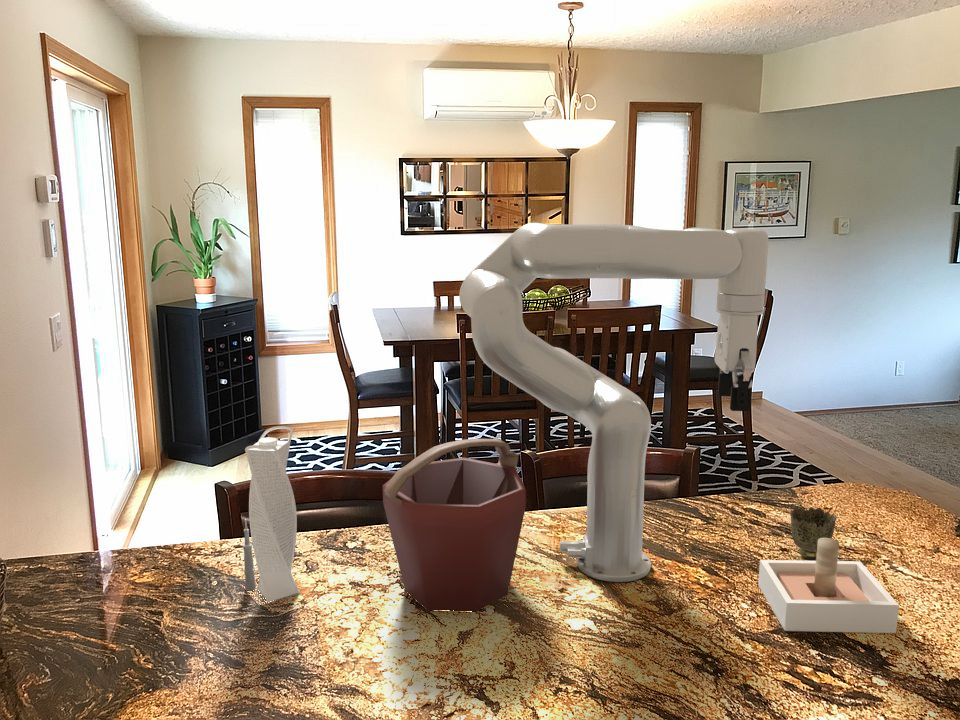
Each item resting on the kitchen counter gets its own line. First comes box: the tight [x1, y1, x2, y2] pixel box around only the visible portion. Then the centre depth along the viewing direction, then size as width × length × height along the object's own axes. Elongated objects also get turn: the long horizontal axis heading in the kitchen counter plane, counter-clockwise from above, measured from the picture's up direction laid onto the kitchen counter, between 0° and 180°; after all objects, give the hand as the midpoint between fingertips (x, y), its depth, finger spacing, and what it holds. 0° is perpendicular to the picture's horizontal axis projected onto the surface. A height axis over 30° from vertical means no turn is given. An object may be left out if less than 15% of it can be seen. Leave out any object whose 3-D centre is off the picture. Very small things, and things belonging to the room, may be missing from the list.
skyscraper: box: [242, 425, 301, 606], centre depth 130 cm, size 8×8×28 cm
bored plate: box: [777, 573, 869, 601], centre depth 125 cm, size 11×11×2 cm
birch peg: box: [813, 538, 840, 597], centre depth 124 cm, size 3×3×10 cm
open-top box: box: [757, 559, 900, 634], centre depth 125 cm, size 16×14×4 cm
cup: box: [790, 506, 837, 561], centre depth 142 cm, size 8×7×8 cm
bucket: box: [382, 438, 527, 613], centre depth 130 cm, size 24×22×25 cm
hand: (733, 402), depth 138 cm, fingers open, 9 cm apart
